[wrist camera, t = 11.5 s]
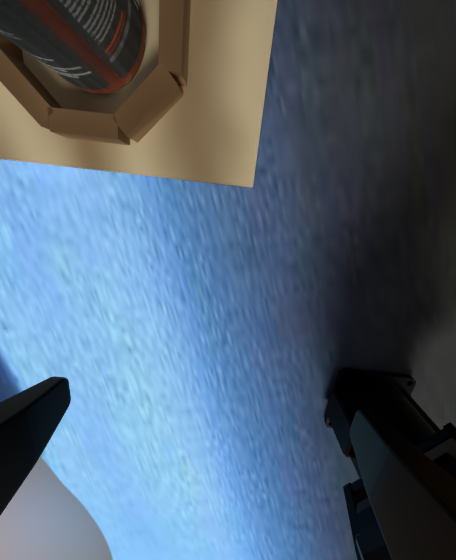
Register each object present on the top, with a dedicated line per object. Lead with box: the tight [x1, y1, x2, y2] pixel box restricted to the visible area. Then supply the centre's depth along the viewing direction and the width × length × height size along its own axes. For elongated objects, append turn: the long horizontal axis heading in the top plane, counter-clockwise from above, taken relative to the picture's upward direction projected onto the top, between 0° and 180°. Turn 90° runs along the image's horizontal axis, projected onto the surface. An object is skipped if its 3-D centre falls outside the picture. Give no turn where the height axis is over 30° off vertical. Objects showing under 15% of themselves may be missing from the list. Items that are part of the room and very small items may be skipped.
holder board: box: [0, 0, 277, 188], centre depth 13 cm, size 20×14×3 cm
